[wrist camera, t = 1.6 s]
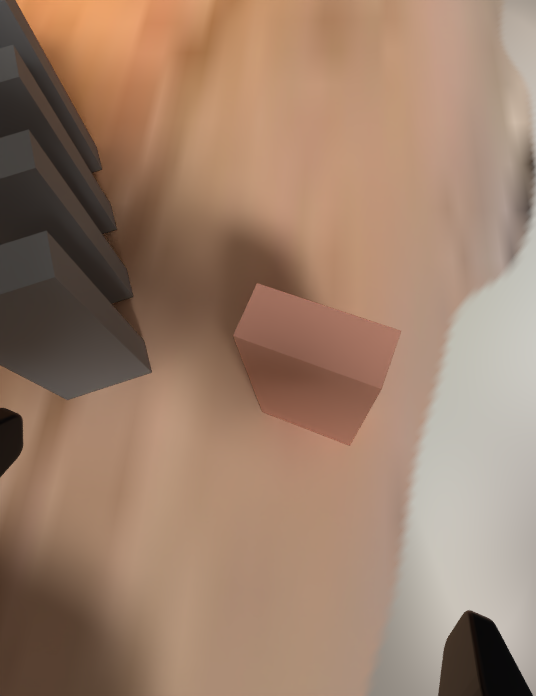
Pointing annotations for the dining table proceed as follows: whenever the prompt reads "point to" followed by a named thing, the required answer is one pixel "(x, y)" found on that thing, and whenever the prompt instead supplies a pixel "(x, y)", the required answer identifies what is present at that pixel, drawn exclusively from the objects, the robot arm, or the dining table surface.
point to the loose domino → (313, 361)
